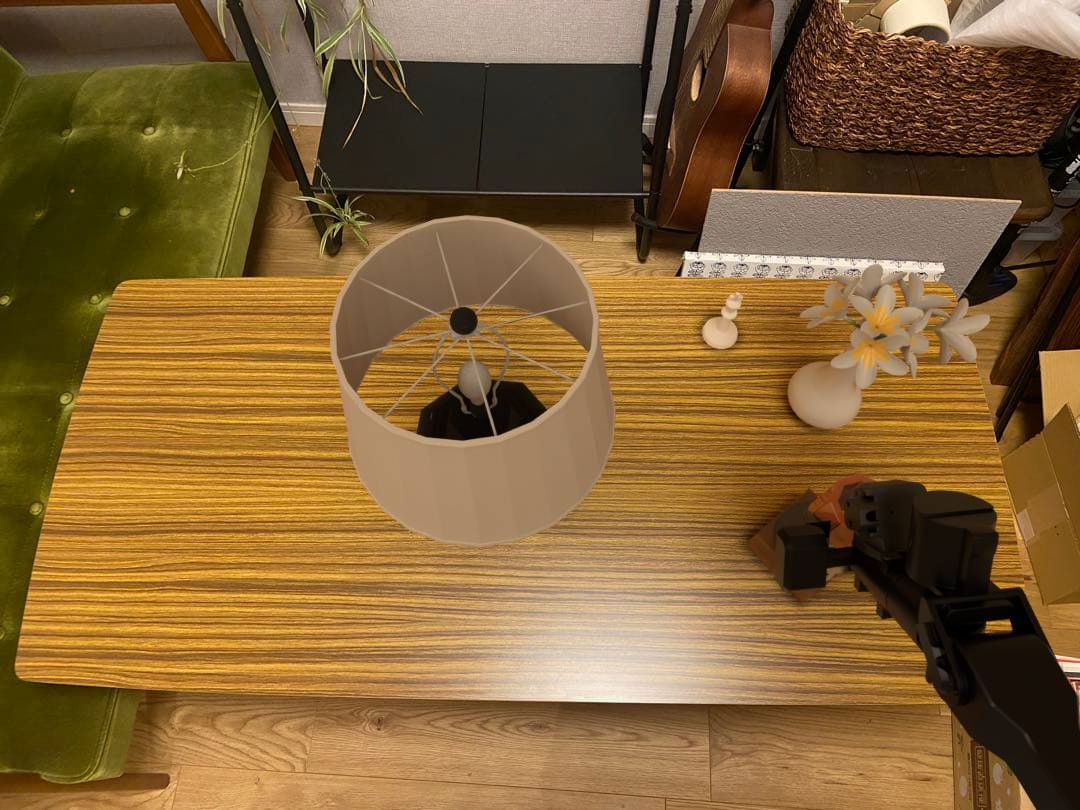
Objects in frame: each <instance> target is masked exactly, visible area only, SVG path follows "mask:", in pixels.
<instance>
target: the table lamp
mask: <svg viewBox="0 0 1080 810" xmlns="http://www.w3.org/2000/svg"><path fill="white" fill-rule="evenodd" d="M472 307H474V308H475V307H479V308H478V309H477V311H474V310H473V309H472ZM485 307H498V308H499V307H500V308H508V309H509V308H511V309H517V310H519V311H522V312H525V313H529V314H530V315H526V316H522V317H518V318H515V319H511V320H505V321H502V322H499V323H494V324H491V325H489V324H487V323H485V322H480V321H479V319H478V315H479V314H480V312H482V310H484V308H485ZM452 310H453V311H452ZM449 311H452V312H451V314H450V317H447V316H446V315H442V314H443V313H446V312H449ZM435 316H437V317H439V318H441V319H443V320H445V321H447V325H448V328H449V330H448V329H447V330H445V331H440V332H437V333H433V334H429V335H425V336H420V337H418V338H413V339H409V340H405V341H402V342H398V343H393V344H391V343H392V342H393V341H394V340H395V339H396V338H398V337H399V336H401V335H402V334H403V333H405V332H407V331H408V330H410V329H411V328H413V327H414V326H416V325H418V324H419V323H420V322H422V321H425V320H427V319H430V318H432V317H435ZM534 317H542V318H544V319H546V320H548V321H549V322H550V323H552V324H554V325H555V326H557V327H558V328H561V329H562V330H564V331H565V332H567V333H568V334H570V336H572V337H573V338H574V339H575V340H576V341H577V342H578V344H579V345H580V346H581V347H582V348H583V349H584V350H585V351H586V352H587V356H586V359H585V362H584V364H583V366H582V368H581V371H580V373H579V376H578V377H577V379H574V378H573V377H570V376H568V375H566V374H564V373H562V372H560V371H558V370H556V369H553V368H551V367H550V366H547V365H544V364H543V363H541V362H538V361H536V360H534V359H532V358H530V357H528V356H525V355H524V354H522V353H519V352H517V351H515V350H513V349H511V348H509V345H508V344H507V342H506V340H505V337H503V335H502V334H501V333H500V332H499V331H498V330H497V329H495V328H496V327H500V326H504V325H506V324H507V325H508V324H512V323H516V322H518V321H519V322H520V321H523V320H526V319H531V318H534ZM485 330H489V331H491V332H492V333H493V334H495V335H496V336H497V337H498V338H499V340H500V341H501V342H502V344H500V343H498V342H496V341H494V340H492V339H489V338H488V337H486V336H483V335H482V334H481V331H485ZM442 335H443V336H442ZM439 336H442V337H441V338H440V340H439V341H438V343H437V345H436V346H435V350H434V353H433V356H432V364H431V365H430V366H429V367H428V369H427V370H426V371H425V372H424V373H423V374H422V375H421V376H419V378H418V379H417V380H416V381H415V382H414V383H413V384H412V385H411V386H410V387H409V388H408V389H407V390H406V391H405V392H404V394H403V395H402V396H401V397H400V398H399V399H398V400H397V401H396V402H395V403H394V404H393V405H392V406H391V407H390V408H389V410H388V411H386V413H384V415H379V414H378V413H376V412H375V411H374V410H372V409H371V408H370V407H368V406H367V404H365V402H364V401H363V400H362V398H360V396H359V394H358V391H359V388H360V387H361V385H362V383H363V381H364V380H365V378H366V375H367V374H368V372H369V370H370V368H371V366H372V364H373V362H374V361H375V360H376V359H377V358H378V357H379V356H380V355H381V353H382V352H384V350H389V349H393V348H396V347H399V346H404V345H408V344H412V343H416V342H420V341H423V340H427V339H428V340H429V339H431V338H435V337H439ZM449 336H451V339H452V343H451V344H450V346H448V348H446V350H444V352H443V353H441V354H440V356H439V357H438V355H439V351H440V349H441V347H442V345H443V343H444V342H445V341H446V339H447V338H448V337H449ZM471 337H477V338H480V339H482V340H484V341H486V342H488V343H490V344H492V345H494V346H497V347H498V348H501V349H503V350H505V355H506V357H505V358H506V359H505V363H504V366H503V368H502V370H501V372H500V374H499V376H498V378H497V379H492V376H491V375H492V374H491V373H490V371H489V369H488V367H487V366H486V365H485V364H484V363H482V362H481V361H479V360H476V358H475V355H474V352H473V348H472V345H471V341H470V338H471ZM464 339H466V342H467V343H466V344H467V346H468V349H469V350H468V351H469V352H470V357H471V360H467V361H465V362H464V363H463V364H462V365H461V366H460V367H459V369H458V373H457V375H456V376H457V378H456V381H457V384H455V385H454V386H452V387H451V388H450V387H449V386H447V385H446V384H445V383H444V382H443V381H442V380H441V379H440V377H439V376H438V372H437V367H436V366H437V364H439V362H440V361H441V360H442V359H443V358H444V357H445V356H446V355H447V354H448V352H450V350H451V349H452V348H453V347H454V346H456V344H458V342H459V341H460V340H464ZM329 345H330V347H329V348H330V358H331V360H332V363H333V366H334V368H335V372H336V374H337V379H338V386H339V393H340V398H341V404H342V410H343V415H344V420H345V425H346V430H347V431H346V432H347V442H348V443H347V445H348V452H349V455H350V457H351V460H352V463H353V466H354V469H355V471H356V474H357V477H358V479H359V482H360V484H362V486H363V487H364V488H365V490H366V491H367V493H368V494H369V495H370V496H371V498H372V499H373V501H374V502H375V503H376V505H377V506H378V508H380V510H381V511H383V512H384V513H385V514H386V515H388V516H389V517H390V518H392V519H393V520H394V521H396V522H397V523H398V524H399V525H401V526H402V527H404V528H405V529H406V530H407V531H409V532H412V533H415V534H417V535H420V536H423V537H425V538H427V539H430V540H433V541H436V542H439V543H441V544H444V545H451V546H452V545H454V546H463V547H473V548H486V547H492V546H498V545H506V544H511V543H517V542H518V543H519V542H521V541H524V540H526V539H528V538H530V537H532V536H535V535H537V534H539V533H541V532H543V531H546V530H548V529H550V528H552V527H554V526H555V525H557V524H558V523H559V522H560V521H562V520H563V519H564V518H565V517H566V516H568V515H569V514H571V513H572V512H573V511H574V510H575V509H576V508H578V507H579V506H580V505H582V504H583V502H584V501H585V500H586V499H587V497H588V495H589V494H590V493H591V491H592V490H593V488H594V487H595V486H596V485H597V483H598V482H599V480H600V479H601V478H602V476H603V474H604V471H605V468H606V466H607V463H608V460H609V457H610V455H611V451H612V450H613V446H614V443H615V430H616V415H617V414H616V413H617V412H616V411H617V410H616V404H615V401H614V396H613V391H612V388H611V383H610V379H609V376H608V371H607V367H606V362H605V357H604V352H603V346H602V342H601V335H600V315H599V310H598V306H597V301H596V298H595V293H594V289H593V287H592V286H591V284H590V282H589V280H588V279H587V277H586V275H585V274H584V272H583V270H582V268H581V267H580V265H579V263H578V262H577V261H576V260H575V259H574V258H572V256H571V255H570V254H569V253H567V252H566V251H565V250H564V248H562V247H561V245H559V243H557V242H556V241H554V240H553V239H551V238H549V237H548V236H546V235H544V234H542V233H541V232H539V231H537V230H536V229H534V228H532V227H530V226H527V225H524V224H520V223H517V222H514V221H510V220H507V219H504V218H500V217H491V216H480V215H468V214H467V215H458V216H449V217H443V218H436V219H435V218H434V219H432V220H429V221H426V222H423V223H420V224H417V225H414V226H412V227H408V228H406V229H403V230H401V231H399V232H398V233H396V234H395V235H393V236H392V237H390V238H388V239H387V240H385V241H384V242H383V241H382V243H380V244H379V245H377V246H376V247H374V249H372V250H371V251H370V252H369V253H368V254H367V255H366V256H365V257H364V258H363V259H362V260H361V261H360V262H359V263H357V265H356V266H355V267H354V268H353V269H352V271H351V272H350V274H349V276H348V277H347V279H346V281H345V283H344V284H343V286H342V288H341V289H340V291H339V292H338V294H337V296H336V300H335V303H334V307H333V312H332V314H331V319H330V322H329ZM510 353H511V354H513V355H516V356H517V357H519V358H522V359H524V360H526V361H528V362H531V363H533V364H534V365H536V366H539V367H541V368H543V369H545V370H547V371H549V372H551V373H554V374H556V375H558V376H560V377H562V378H564V379H566V380H568V381H571V382H573V383H572V385H571V386H570V387H569V388H568V390H567V391H566V392H565V394H564V395H562V397H561V398H560V400H559V401H558V402H557V403H555V404H554V405H552V406H551V407H549V408H548V409H547V407H546V406H545V405H544V404H543V403H542V401H540V400H539V399H538V397H537V396H536V395H535V394H534V393H533V392H532V391H531V389H529V387H528V386H527V385H526V384H525V383H524V382H523V381H516V380H515V381H514V380H504V379H503V377H504V376H505V374H506V371H507V369H508V366H509V364H510V357H511V356H510ZM437 357H438V358H437ZM431 370H432V372H433V375H434V378H435V380H436V381H437V383H438V384H439V385H440V386H441V387H443V389H445V390H446V391H445V392H444V393H442V394H441V395H439V396H438V397H437V398H436V399H434V400H433V401H431V402H430V403H428V404H427V405H425V406H424V407H422V408H421V409H420V412H419V413H420V414H419V418H418V423H417V429H416V433H415V432H412V431H410V430H407V429H404V428H401V427H399V426H396V425H393V424H392V423H390V422H389V421H388V420H386V418H387V417H388V416H389V414H391V413H392V411H393V410H394V409H396V407H397V406H398V405H399V404H400V403H402V401H403V400H404V399H405V398H406V397H407V396H408V394H410V393H411V391H412V390H414V388H415V387H416V386H417V385H418V384H419V383H420V382H421V381H422V380H423V379H424V378H425V377H426V376H427V375H428V374H429V372H431ZM502 379H503V380H502Z"/></svg>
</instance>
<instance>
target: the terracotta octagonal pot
mask: <svg viewBox="0 0 1080 810" xmlns="http://www.w3.org/2000/svg"><path fill="white" fill-rule="evenodd" d="M877 481H878V480H875V479H873V478H871V477H869V476H867V475H865V474H864V473H862V474H861V473H857V474H853V475H849V476H846V477H842V478H838V479H837V480H836V481H835V482H834V483H833V484H831V486H829V487H828V488H827V489H826V490H825V491H824V492H822V493H821V494H820V495H818V498H817V499H816V500H815V501H814V502H812V503H811V504H810V506H809V508H808V510H809V511H810V512H812V513H813V514H814V515H815V516H816V517H817V518H818V519H819V520H820V521H827V520H831V528H830V541H829V543H832V544H833V545H834V546H835V548H841V547H851V546H852V540H853V535H854V532H855V531H852V530H850V529H848V528H847V526H846V524H845V517H844V506H843V501H844V499H845V497H852V496H853V495H854V489H855V488H858V487H859V486H860V485H861V484H863V483H865V482H877Z"/></svg>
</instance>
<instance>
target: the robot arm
mask: <svg viewBox="0 0 1080 810" xmlns="http://www.w3.org/2000/svg"><path fill="white" fill-rule="evenodd" d="M876 481H877V482H865V483H863V484H861V485H860V486H859V487H858V488H855V489H854V495H853V496H852V497H845V499H844V501H843V506H844V511H843V514H844V517H845V524H846V526H847V528H848V529H850V530H852V531H855V532H854V535H853V540H852V546H851V547H841V548H835V546H834V545H833V544H832V543H829V541H830V528H831V520H827V521H820V520H819V519H818V518H817V517H816V516H815V515H814V514H813V513H812V512H810V511H809V510H807V509H803V525H797V526H787V527H782V528H780V529H779V530H778V531H777V532H776V546H775V567H774V574H773V579H774V580H775V582H776V583H777V585H778V586H779V588H780V589H782V590H783V591H784V592H785V593H786V594H791V593H793V592H802V591H812V590H820V591H822V590H823V589H825V588H826V587H827V584H826V581H828V580H830V579H832V578H833V576H834V575H835V574H837V575H839V574H846V573H853V574H854V578H853V579H854V580H853V587H854V588H855V590H856V591H857V592H858V593H866V592H869V593H870V594H871V595H872V596H873V598H874V599H875V600H876V610H875V614H876V615H877V616H878V617H879V618H880V620H888V619H893V620H894V622H896V624H897V625H898V626H899V627H900V628H901V629H902V630H903V632H904V633H905V634H906V635H907V636H908V638H910V640H911V641H912V642H913V643H914V645H916V646H917V648H919V650H920V651H921V652H922V653H923V655H924V658H925V661H926V668H925V674H924V679H925V681H926V682H927V684H929V685H932V686H933V689H934V690H935V691H936V693H937V694H938V696H939V698H940V699H941V700H942V701H943V702H944V703H945V704H946V705H947V707H948V708H949V710H950V711H951V712H952V714H953V716H954V717H955V718H956V720H957V721H958V723H959V724H960V726H961V727H962V728H963V729H964V731H965V733H966V734H967V735H968V737H970V739H971V740H973V741H974V742H976V743H977V744H979V745H980V746H982V747H983V748H984V749H986V750H987V751H989V752H990V753H992V754H993V755H994V756H996V757H997V758H999V759H1000V760H1002V761H1003V762H1004V763H1005V764H1006V765H1007V767H1008V768H1009V769H1010V771H1011V772H1012V774H1013V775H1014V776H1015V778H1016V779H1017V781H1018V783H1019V784H1020V786H1021V787H1022V789H1023V791H1024V793H1025V794H1026V796H1027V797H1028V799H1029V801H1030V802H1031V804H1032V805H1033V807H1034V809H1035V810H1080V701H1079V700H1080V699H1079V695H1078V693H1077V691H1076V689H1075V688H1074V686H1073V685H1072V683H1071V681H1070V680H1069V678H1068V677H1067V674H1066V673H1065V672H1064V670H1063V669H1062V666H1061V665H1060V663H1059V661H1058V659H1057V657H1056V654H1055V652H1054V650H1053V648H1052V646H1051V644H1050V642H1049V640H1048V638H1047V636H1046V634H1045V632H1044V630H1043V628H1042V626H1041V624H1040V622H1039V619H1038V618H1037V616H1036V614H1035V611H1034V609H1033V608H1032V605H1031V602H1030V601H1029V599H1028V597H1027V595H1026V593H1025V591H1024V589H1023V588H1022V587H1021V586H1014V587H1004V588H1000V587H999V586H998V585H997V584H996V583H995V582H993V581H992V580H991V575H992V570H993V562H994V558H995V555H996V553H997V550H998V545H999V541H1000V534H999V532H998V531H997V530H996V528H997V524H998V513H997V511H996V510H995V509H994V508H995V506H994V505H993V504H992V503H991V502H988V501H987V500H985V499H983V498H981V497H978V496H976V495H973V494H969V493H966V492H963V491H956V490H947V489H934V490H927V488H926V486H925V485H924V484H923V483H920V482H917V481H910V480H905V479H899V478H897V479H889V480H876ZM833 579H834V578H833ZM833 579H832V580H833ZM1008 620H1009V623H1010V626H1011V630H1000V631H992V632H986V629H987V625H988V624H987V623H989V622H998V621H999V622H1000V621H1008Z"/></svg>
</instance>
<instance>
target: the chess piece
mask: <svg viewBox="0 0 1080 810" xmlns="http://www.w3.org/2000/svg"><path fill="white" fill-rule="evenodd" d="M743 299H744V295H743V294H740V292H739V291H735V294H729V296H728V297H726V299H725V305H724V306H723V307H722V308H721V311H720V314H721V316H715V317H711V318H709V319H708V320H707V321H706V322H705V323H704V325H703V326H702V328H701V329H702V330H701V336H702V338H703V340H704V341H705V343H706V344H707V345H709V346H710V347H712V348H714V349H719V350H724V349H728V348H731V347H732V346H734V344H735V343H736V342H737V340H738V336H739V332H738V331H739V330H738V328H737V325H736V324H735V322H733V321H732V320H734V319H735V318H736V317H737V316H738V310H739V309H740V308H741V306H742V301H743Z"/></svg>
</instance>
